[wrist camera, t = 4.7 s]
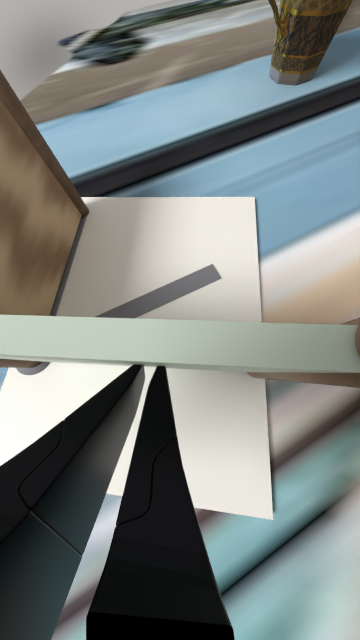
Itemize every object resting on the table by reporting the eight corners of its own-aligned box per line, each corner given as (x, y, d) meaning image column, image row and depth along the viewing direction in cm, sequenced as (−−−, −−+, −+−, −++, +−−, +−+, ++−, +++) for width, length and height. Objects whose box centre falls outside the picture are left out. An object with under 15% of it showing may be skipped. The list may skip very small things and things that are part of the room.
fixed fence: (42, 369, 15) (-320, 362, 4) (17, 366, 15) (-386, 355, 5) (92, 206, 20) (-15, 27, 10) (73, 206, 20) (-52, 31, 10)
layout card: (270, 514, 11) (273, 521, 11) (-23, 469, 13) (-31, 472, 13) (253, 200, 19) (254, 196, 19) (72, 200, 21) (70, 196, 21)
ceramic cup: (299, 51, 28) (354, -114, 19) (340, 77, 25) (430, -102, 16) (229, 75, 27) (249, -84, 18) (263, 106, 24) (309, -65, 15)
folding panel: (49, 366, 15) (-217, 357, 5) (55, 343, 15) (-174, 296, 6) (270, 378, 13) (476, 396, 4) (267, 352, 14) (438, 310, 4)
